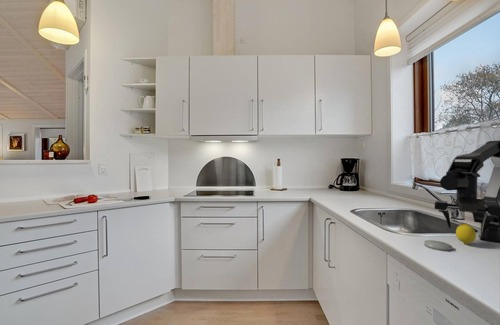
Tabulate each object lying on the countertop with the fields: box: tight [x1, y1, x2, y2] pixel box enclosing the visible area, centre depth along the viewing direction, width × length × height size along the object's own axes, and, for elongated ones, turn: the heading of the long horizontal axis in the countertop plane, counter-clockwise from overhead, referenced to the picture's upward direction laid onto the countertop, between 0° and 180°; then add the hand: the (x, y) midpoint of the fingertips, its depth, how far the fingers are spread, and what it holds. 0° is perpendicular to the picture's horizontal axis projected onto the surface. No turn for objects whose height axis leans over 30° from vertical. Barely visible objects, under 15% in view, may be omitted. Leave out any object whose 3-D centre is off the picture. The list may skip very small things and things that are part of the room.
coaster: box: [423, 239, 453, 252], centre depth 86 cm, size 8×8×1 cm
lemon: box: [455, 222, 477, 245], centre depth 88 cm, size 6×6×8 cm
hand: (465, 230), depth 88 cm, fingers open, 9 cm apart
